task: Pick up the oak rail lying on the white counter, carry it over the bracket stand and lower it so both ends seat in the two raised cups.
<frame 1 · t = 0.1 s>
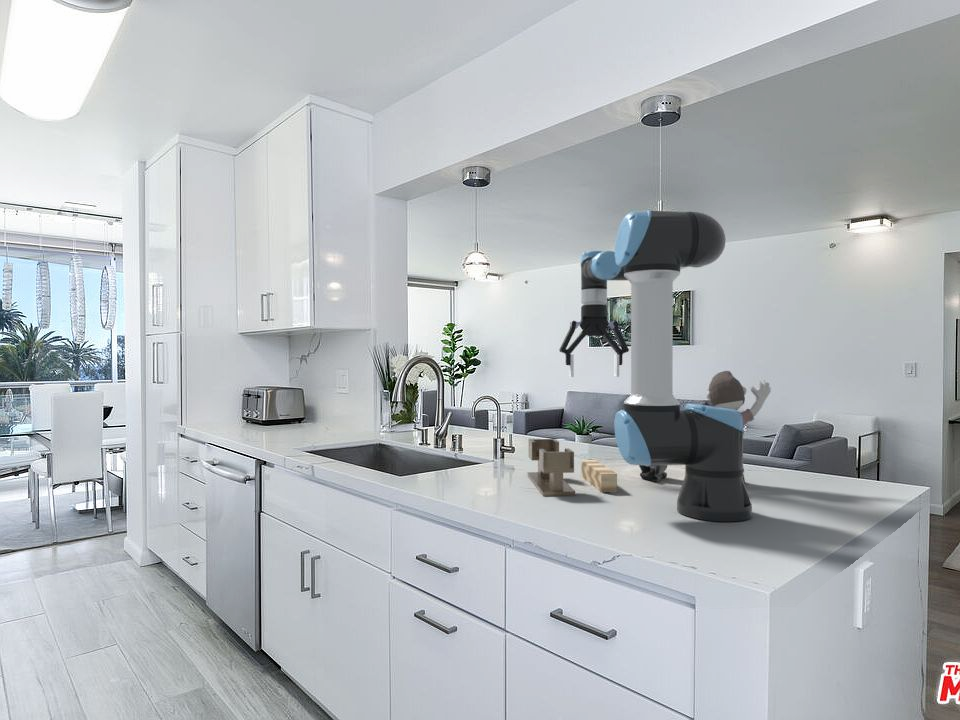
hand: (594, 376, 179), 28 cm above the table, fingers open, 13 cm apart
rail: (598, 485, 161), on the table
figurine: (735, 483, 163), on the table
figurine 2: (654, 480, 167), on the table
bracket: (549, 485, 160), on the table
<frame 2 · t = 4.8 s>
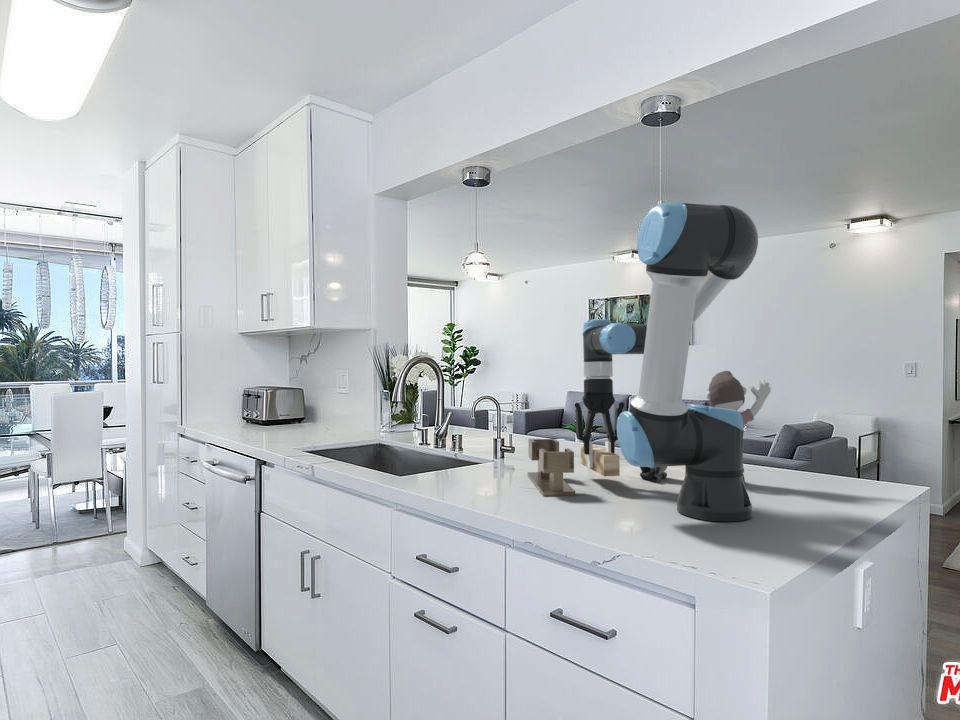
hand: (599, 466, 160), 5 cm above the table, fingers closed on rail, 4 cm apart
rail: (598, 469, 160), point 4 cm above the table, touching gripper
everything else where it was.
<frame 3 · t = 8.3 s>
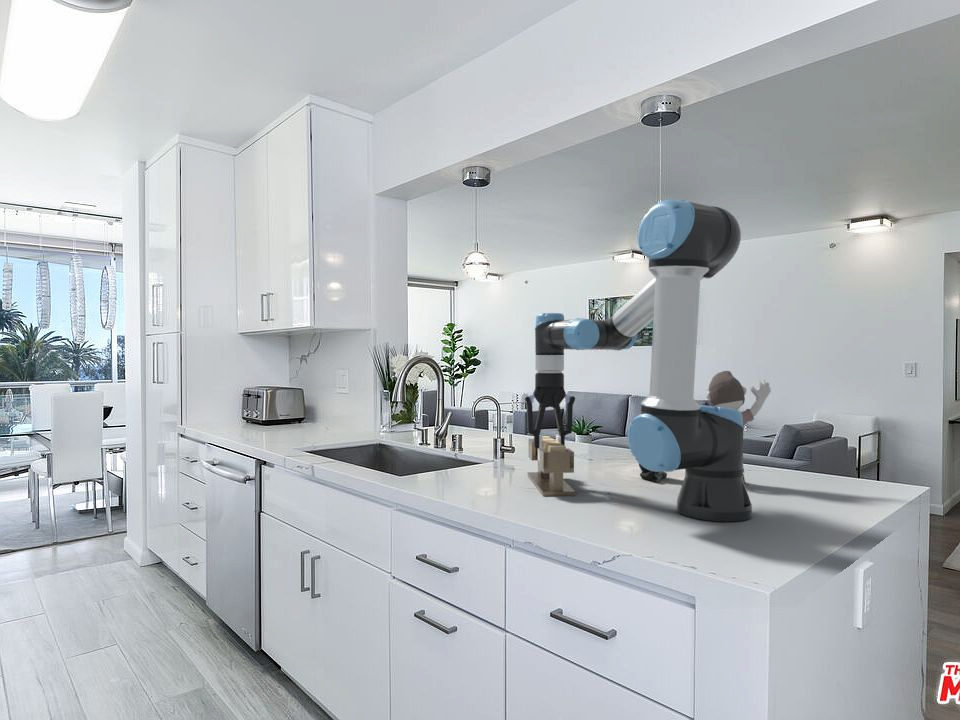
hand: (549, 460, 160), 6 cm above the table, fingers closed on rail, 4 cm apart
rail: (549, 460, 160), point 6 cm above the table, touching bracket, gripper
everything else where it was.
when the fingers open (6 cm above the table, at t = 9.1 s): rail stays where it is, resting on bracket.
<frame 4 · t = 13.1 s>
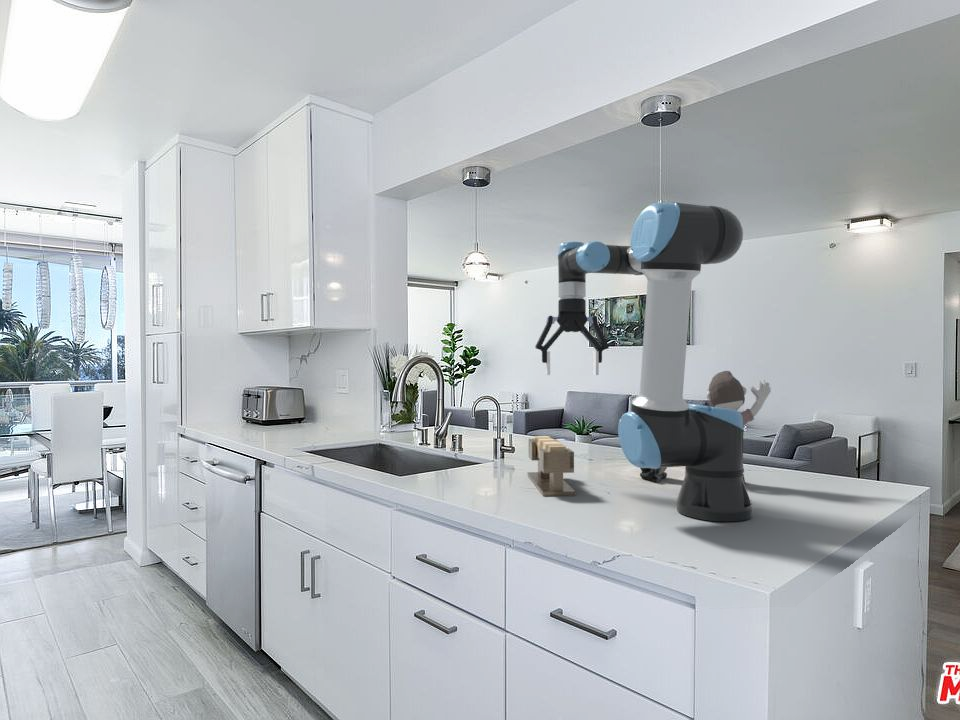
hand: (571, 374, 169), 29 cm above the table, fingers open, 13 cm apart
rail: (549, 460, 160), point 6 cm above the table, touching bracket
everything else where it was.
at the end: rail 0.5 cm off-centre on the bracket, point 6.5 cm above the bracket's base; rail tilted 0°; the gripper is holding nothing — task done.
